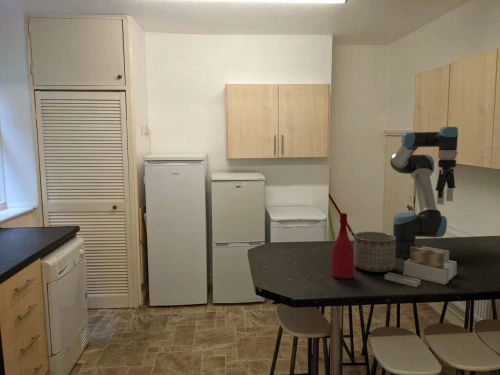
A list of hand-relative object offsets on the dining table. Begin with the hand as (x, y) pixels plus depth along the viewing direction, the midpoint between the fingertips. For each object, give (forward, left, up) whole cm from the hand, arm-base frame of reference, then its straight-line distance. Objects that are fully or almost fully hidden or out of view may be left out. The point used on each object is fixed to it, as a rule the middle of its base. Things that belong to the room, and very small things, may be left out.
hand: (444, 202), depth 173 cm
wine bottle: (-30, -45, -33) cm, 63 cm away
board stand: (-7, -33, -33) cm, 47 cm away
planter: (-24, -25, -33) cm, 47 cm away
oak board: (-1, -20, -31) cm, 37 cm away
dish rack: (-1, -15, -33) cm, 36 cm away
